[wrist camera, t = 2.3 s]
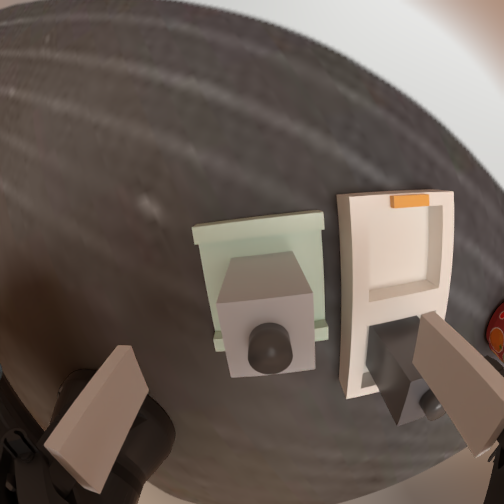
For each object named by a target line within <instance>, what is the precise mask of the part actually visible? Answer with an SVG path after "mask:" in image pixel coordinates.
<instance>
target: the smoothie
mask: <svg viewBox="0 0 504 504" xmlns="http://www.w3.org/2000/svg"><path fill="white" fill-rule="evenodd" d="M486 337H487V340H488V342H489V347H490V349H491V350H492V351H493V352H494V353H495V355H496V356H497V357H498V358H499V359H500V360H501V361H502V362H503V363H504V303H502V304H501V305H500V306H499V307H498V308H497V309H496V311H495V312H494V314H493V316H492V318H491V320H490V322H489V325H488V327H487V333H486Z"/></svg>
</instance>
